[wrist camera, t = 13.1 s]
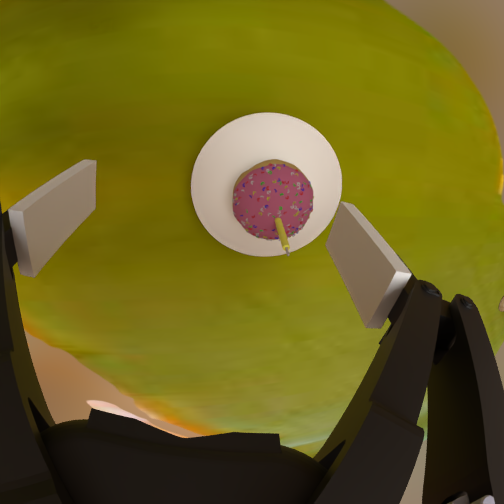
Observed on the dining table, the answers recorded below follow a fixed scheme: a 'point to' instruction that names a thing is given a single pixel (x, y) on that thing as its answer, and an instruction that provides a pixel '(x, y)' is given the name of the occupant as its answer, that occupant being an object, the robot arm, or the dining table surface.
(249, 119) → the cake stand
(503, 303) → the hand bell
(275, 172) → the cupcake
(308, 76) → the dining table surface
